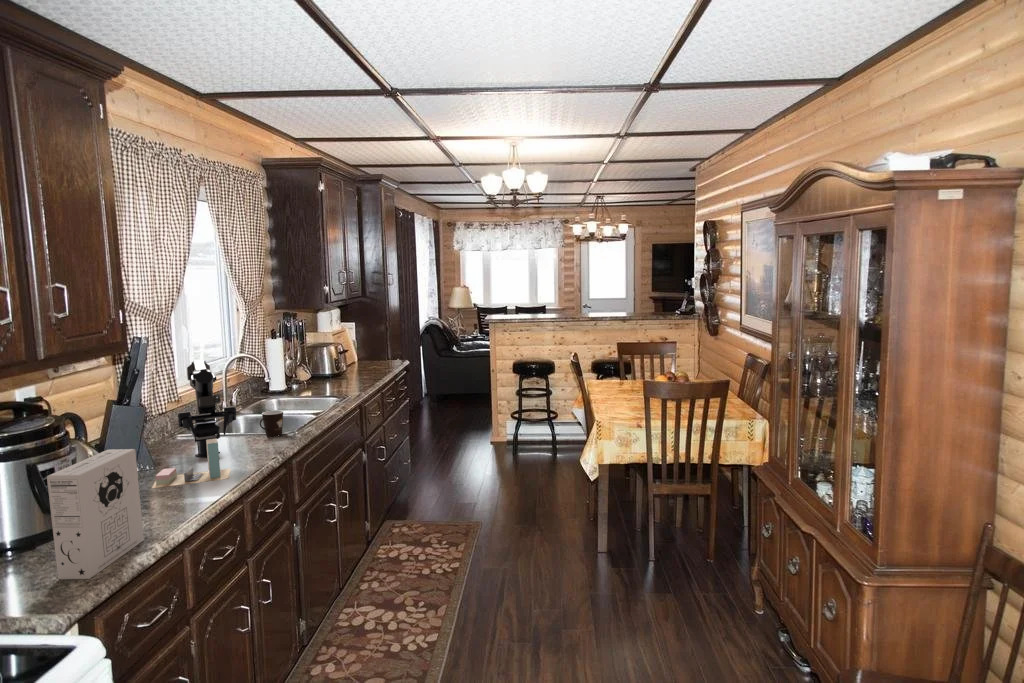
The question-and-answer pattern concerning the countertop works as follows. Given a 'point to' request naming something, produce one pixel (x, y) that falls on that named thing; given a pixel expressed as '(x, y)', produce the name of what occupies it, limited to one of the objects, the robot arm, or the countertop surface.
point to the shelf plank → (204, 478)
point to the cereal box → (95, 512)
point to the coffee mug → (272, 422)
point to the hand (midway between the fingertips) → (210, 436)
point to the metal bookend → (191, 475)
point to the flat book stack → (166, 476)
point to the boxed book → (213, 458)
